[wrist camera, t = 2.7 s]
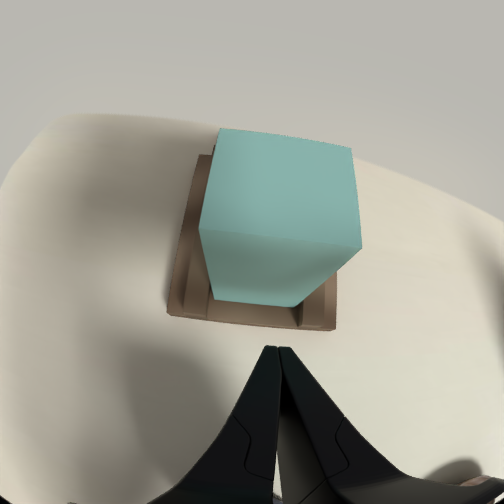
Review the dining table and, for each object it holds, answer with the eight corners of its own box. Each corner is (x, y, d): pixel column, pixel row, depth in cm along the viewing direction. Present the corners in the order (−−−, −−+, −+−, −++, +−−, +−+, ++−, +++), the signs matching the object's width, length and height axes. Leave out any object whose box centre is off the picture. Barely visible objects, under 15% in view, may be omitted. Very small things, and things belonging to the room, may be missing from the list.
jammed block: (293, 307, 21) (362, 247, 10) (214, 299, 21) (198, 228, 10) (296, 246, 23) (350, 147, 12) (222, 238, 23) (220, 128, 12)
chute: (329, 331, 22) (354, 323, 18) (170, 315, 22) (155, 303, 17) (327, 180, 28) (343, 148, 23) (200, 163, 27) (196, 129, 23)
